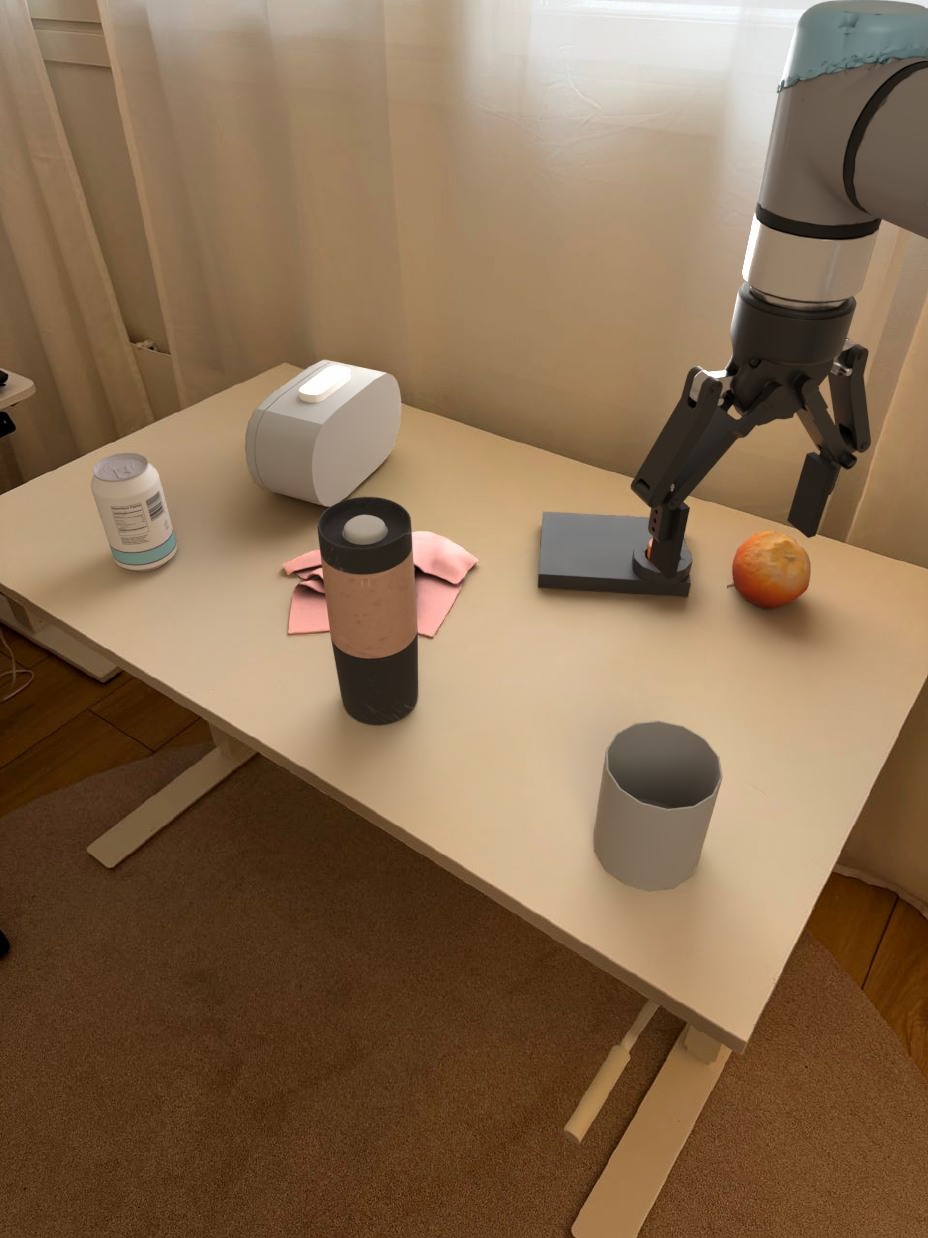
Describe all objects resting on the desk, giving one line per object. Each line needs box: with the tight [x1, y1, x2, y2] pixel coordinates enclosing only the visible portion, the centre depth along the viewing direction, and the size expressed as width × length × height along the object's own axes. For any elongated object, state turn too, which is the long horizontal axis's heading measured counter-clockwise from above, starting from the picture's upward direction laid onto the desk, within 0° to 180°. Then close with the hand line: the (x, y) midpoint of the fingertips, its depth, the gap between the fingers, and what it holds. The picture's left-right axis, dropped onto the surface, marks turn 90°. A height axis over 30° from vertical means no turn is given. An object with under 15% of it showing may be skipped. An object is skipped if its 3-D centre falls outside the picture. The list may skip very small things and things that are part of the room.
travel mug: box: [317, 496, 419, 726], centre depth 77 cm, size 8×8×20 cm
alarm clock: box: [244, 359, 402, 508], centre depth 109 cm, size 21×10×13 cm, turn 154°
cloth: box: [282, 530, 480, 638], centre depth 96 cm, size 20×22×2 cm
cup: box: [593, 720, 724, 892], centre depth 68 cm, size 8×8×10 cm
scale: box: [537, 511, 693, 598], centre depth 99 cm, size 16×13×4 cm
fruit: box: [726, 530, 812, 610], centre depth 93 cm, size 8×8×8 cm
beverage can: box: [90, 451, 178, 572], centre depth 97 cm, size 7×7×12 cm
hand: (733, 548), depth 73 cm, fingers open, 13 cm apart
